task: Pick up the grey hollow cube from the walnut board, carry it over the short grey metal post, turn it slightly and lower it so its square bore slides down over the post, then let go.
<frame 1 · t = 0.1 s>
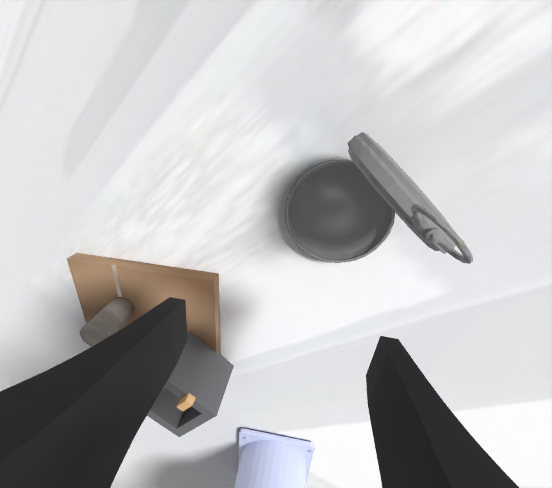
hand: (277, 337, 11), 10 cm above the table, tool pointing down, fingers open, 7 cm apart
pocket watch: (353, 199, 18), on the table
board: (154, 320, 25), on the table
grey hollow cube: (195, 361, 25), point 1 cm above the table, touching board
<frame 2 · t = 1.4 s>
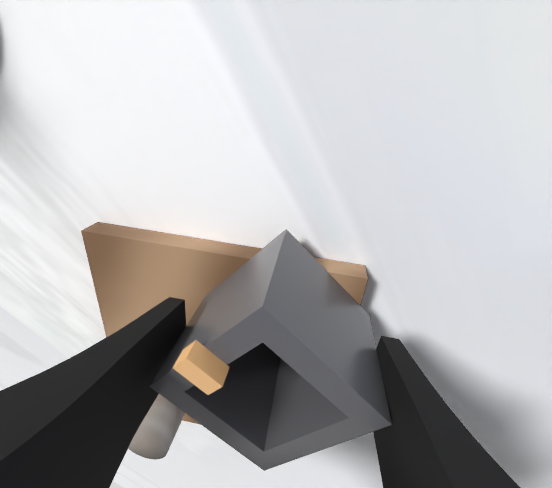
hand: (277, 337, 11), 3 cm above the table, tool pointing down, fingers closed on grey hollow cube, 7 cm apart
board: (223, 342, 15), on the table
grey hollow cube: (283, 305, 12), point 1 cm above the table, touching board, gripper
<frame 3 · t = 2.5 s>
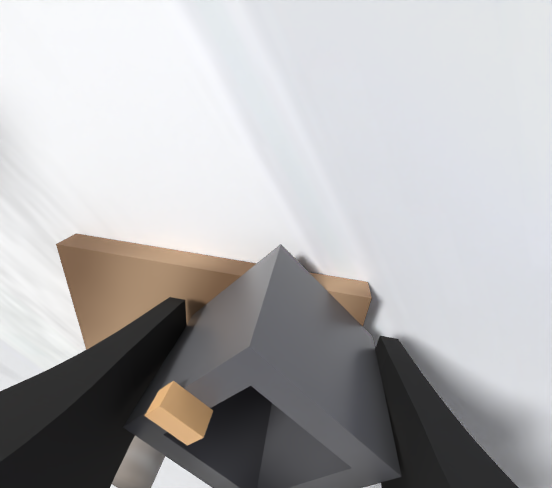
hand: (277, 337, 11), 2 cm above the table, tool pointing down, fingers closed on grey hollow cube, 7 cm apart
board: (214, 361, 14), on the table
grey hollow cube: (278, 325, 11), point 1 cm above the table, touching board, gripper
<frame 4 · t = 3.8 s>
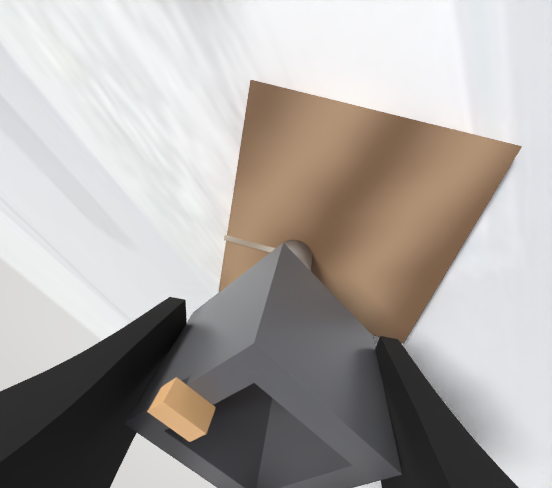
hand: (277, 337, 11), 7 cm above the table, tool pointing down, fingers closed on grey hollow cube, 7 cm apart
board: (339, 226, 16), on the table
grey hollow cube: (279, 323, 11), point 7 cm above the table, touching gripper
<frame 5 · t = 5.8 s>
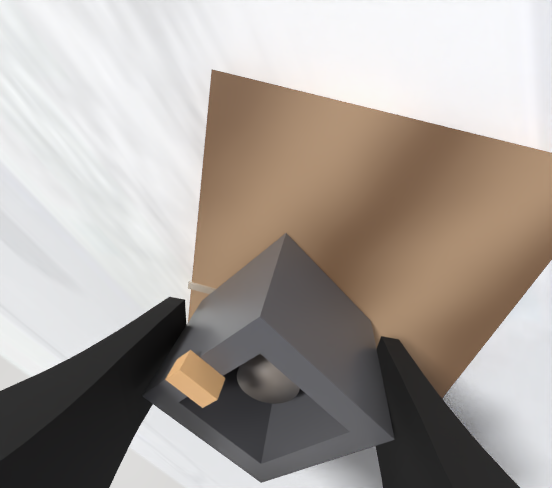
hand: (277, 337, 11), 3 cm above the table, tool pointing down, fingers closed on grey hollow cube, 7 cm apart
board: (342, 270, 12), on the table
grey hollow cube: (283, 310, 12), point 1 cm above the table, touching board, gripper
when the fingers open (3 cm above the table, at t = 6.0 s): grey hollow cube stays where it is, resting on board.
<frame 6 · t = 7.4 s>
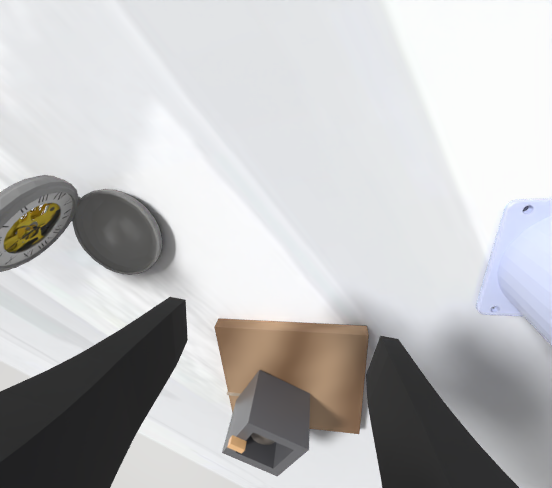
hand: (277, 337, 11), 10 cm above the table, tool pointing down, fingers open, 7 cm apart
pocket watch: (112, 218, 21), on the table
board: (292, 374, 26), on the table
grey hollow cube: (272, 396, 26), point 1 cm above the table, touching board
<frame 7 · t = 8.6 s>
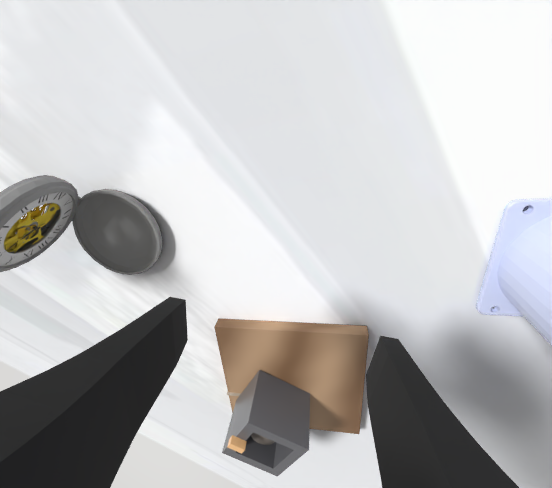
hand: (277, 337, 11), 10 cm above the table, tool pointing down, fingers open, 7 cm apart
pocket watch: (112, 218, 21), on the table
board: (292, 374, 26), on the table
grey hollow cube: (272, 396, 26), point 1 cm above the table, touching board
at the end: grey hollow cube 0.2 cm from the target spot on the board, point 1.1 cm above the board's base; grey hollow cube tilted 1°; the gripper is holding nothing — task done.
